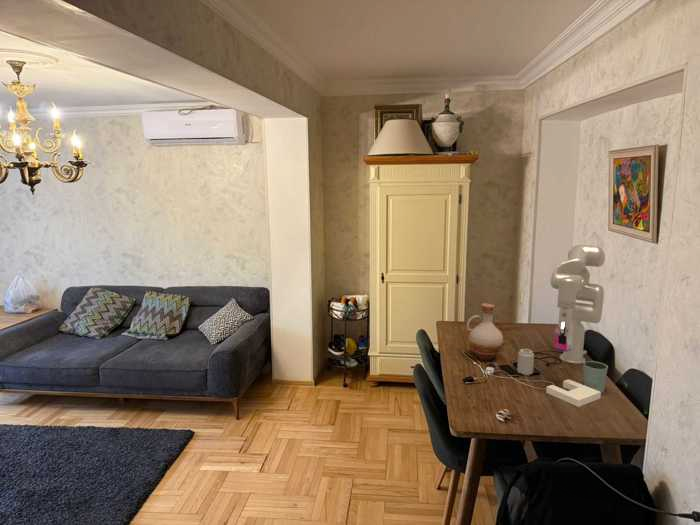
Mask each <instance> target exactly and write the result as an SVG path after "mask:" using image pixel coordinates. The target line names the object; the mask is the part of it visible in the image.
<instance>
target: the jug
mask: <svg viewBox="0 0 700 525" xmlns="http://www.w3.org/2000/svg"><path fill="white" fill-rule="evenodd" d="M494 308H495V305H494V304H492V303H489V302H488V303H487V302H484V303H481V309H480V311H481V314H482V315H480V314H475V315H473V316H471V317H470V318H469V319H467V322H466V329H467V331H468V332H469V336H468V340H469V346H470V348H471V351H472V352H473V354H474V355H475V356H476V357H477V358H478V359H479V360H481V361H491V360H493V359H494V358H495V357H497V355H499V353H500V351H501V349H502V347H503V344H504V336H503V334H502V331H501V330H499V328H498V327H496V326H495V324H494V323H493V321H492V317H493V314H494ZM476 318H479V319H480V320H481V322H480V323H479V324H478V325H476V326H475V327H474V328H470V323H471V322H472V321H473V320H474V319H476Z"/></svg>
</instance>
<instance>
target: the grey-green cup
mask: <svg viewBox="0 0 700 525" xmlns="http://www.w3.org/2000/svg"><path fill="white" fill-rule="evenodd" d="M582 364H583V365H582V366H583V385H585V386H587V387H590V388H592V389H595V390H597V391H600V392H601V394H603V393H604V392H605V387H606V379H607V374H608V369H609V366H608V365H607V364H605V363H603V362H601V361H595V360H587V361H586V360H585V362H584V363H582Z"/></svg>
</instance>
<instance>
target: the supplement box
mask: <svg viewBox="0 0 700 525" xmlns="http://www.w3.org/2000/svg"><path fill="white" fill-rule="evenodd" d="M558 325H559V323H558V324H554V339H553V340H554V341H553V349H555V350H558V351H561V352H563V351H564V352H565V351H568V350H572V334H573V326H571V329H570V330H569V331H568V330H567V331H566V336H567V337H566V344H559V343H558V339H559V332H560V329H559V328H558ZM564 329H566V328H565V327H564Z"/></svg>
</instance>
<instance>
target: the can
mask: <svg viewBox="0 0 700 525" xmlns="http://www.w3.org/2000/svg"><path fill="white" fill-rule="evenodd" d="M534 362H535V353H534V351H533V350H532V349H530V348H521V349H519V351H518V353H517V366H516V367H517V368H516V371H517V373H518V374H519V373H521V374H524V375H523V376H531V375H532V374H533V373H534V364H535V363H534ZM521 374H520V375H521ZM530 374H531V375H530Z"/></svg>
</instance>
